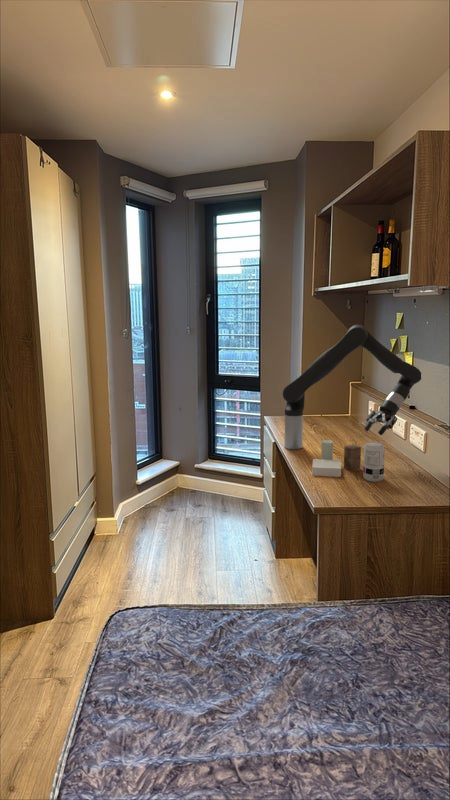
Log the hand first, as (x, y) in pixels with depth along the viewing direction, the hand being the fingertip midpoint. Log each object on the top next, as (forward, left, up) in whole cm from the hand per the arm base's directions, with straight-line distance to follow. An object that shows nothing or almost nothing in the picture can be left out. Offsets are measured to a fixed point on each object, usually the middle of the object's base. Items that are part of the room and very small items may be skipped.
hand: (372, 432), depth 226 cm
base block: (+13, -20, -16) cm, 29 cm away
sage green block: (0, -20, -15) cm, 25 cm away
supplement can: (+20, -1, -15) cm, 26 cm away
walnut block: (+7, -9, -15) cm, 19 cm away
